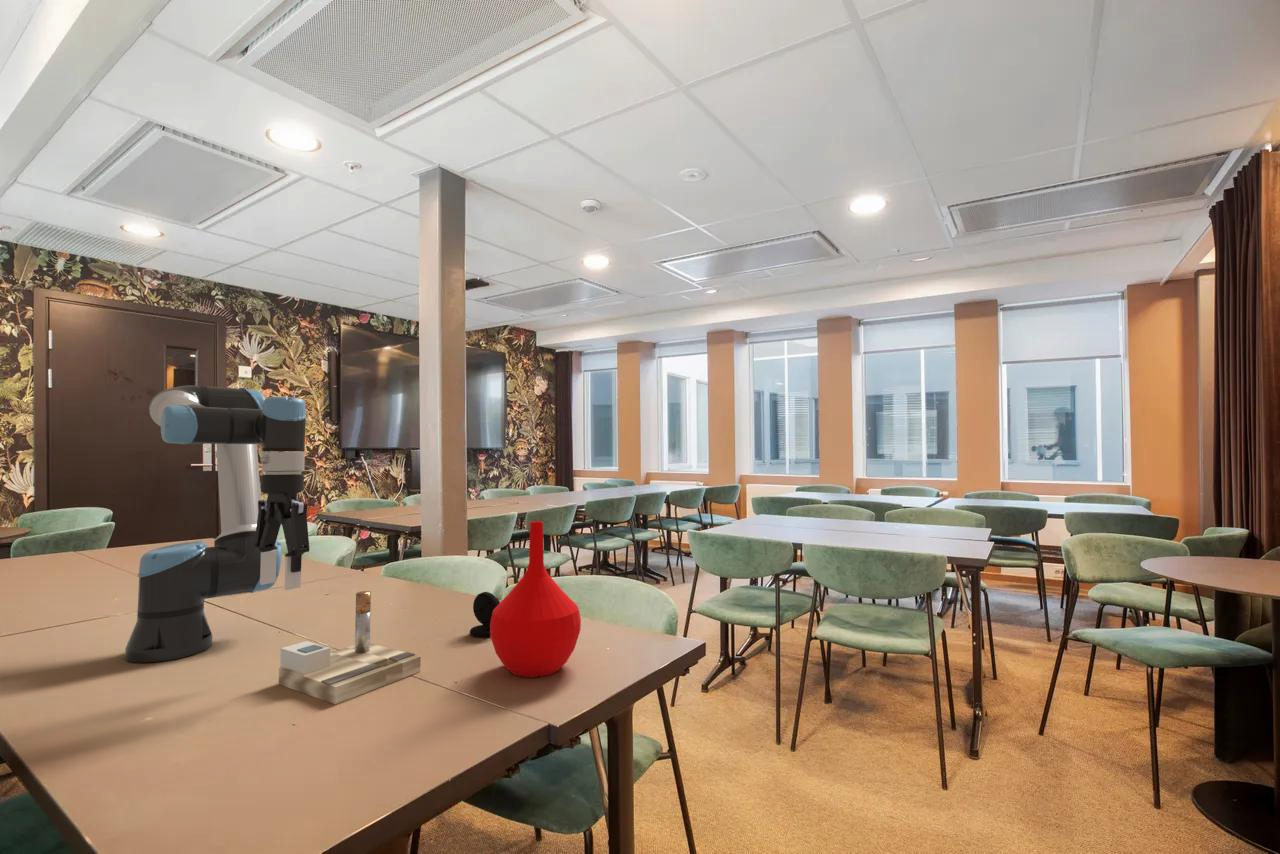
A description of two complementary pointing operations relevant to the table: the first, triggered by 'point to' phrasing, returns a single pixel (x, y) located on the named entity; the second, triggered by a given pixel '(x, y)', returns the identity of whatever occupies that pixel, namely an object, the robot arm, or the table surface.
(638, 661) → the table surface
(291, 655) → the block
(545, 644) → the vase
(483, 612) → the webcam
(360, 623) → the silver and copper cylinder
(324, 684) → the panel
